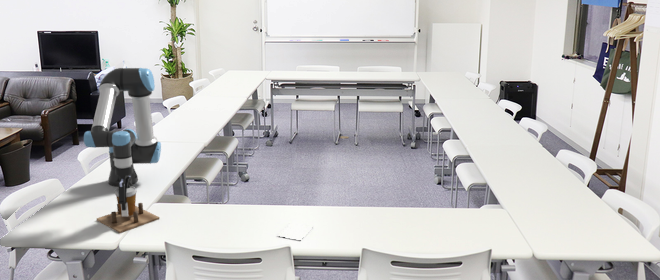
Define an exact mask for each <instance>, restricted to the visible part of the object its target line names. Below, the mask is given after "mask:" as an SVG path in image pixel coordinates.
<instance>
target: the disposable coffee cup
mask: <svg viewBox="0 0 660 280" xmlns="http://www.w3.org/2000/svg"><path fill="white" fill-rule="evenodd" d="M137 192H138V190H137V189H136V187H135V186H133V185H132V186H130V188H127V192H126V198H127V199H126V202H127V205H128V216H131V215H133V212H134V211H135V206H136V198H137ZM114 195H115V196H116V197H115V198H116V201H117V204H118V206H119V210H120V214H121V216H122V213H121V204H119V203H118V202H119V189H118V187H117V188H116V189H115V192H114Z"/></svg>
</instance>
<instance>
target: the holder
mask: <svg viewBox="0 0 660 280" xmlns="http://www.w3.org/2000/svg"><path fill="white" fill-rule="evenodd" d="M137 205H138V206H137ZM137 205H135V211H134V212H133V215H131V216H121V214H120V210H119V206H118V203H116V206H117V207H116V209H117V211H115V210H114V211H111V213H109V214H106V215H103V216H99V217H96V221H97V222H99V223H101V224H103V225H104V226H106V227H108V228H110V229H111V230H113V231H114V232H116V233H119V234H122V233H125V232H128V231H130V230H133V229H136V228H139V227H142V226H145V225H147V224H150V223H153V222H155V221H159V220H160V217H159V216H157V215H156V214H154V213H151V212H149V211H147V210H145V209H144V205H143V202H138V203H137Z"/></svg>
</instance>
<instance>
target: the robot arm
mask: <svg viewBox="0 0 660 280" xmlns="http://www.w3.org/2000/svg"><path fill="white" fill-rule="evenodd" d="M155 86H156V85H155V78H154V74H153V72H152V70H150V68H146V67H145V68H144V67H127V68H126V67H118V68H115V69H112V70H111V71H109V72H108V73H107V74H106V75H105V76H104V77H103V78H102V79H101V81H100V83H99V87H98V91H99V96H98V99H97V105H96V109H95V113H94V117H93V122H92V125H91V130H87V131H85V132H84V134H83V143H84V146H85V147H87V148H94V149H95V148H108V153H109V154H108V155H109V163H110V171H109V175H108V184H109V185H110V186H112V187H113V186H114V187H117V188H118V189H119V202H118V201H117V204H118V203H119V204H121V213H122V216H128V205H127V202H126V199H127V198H126V192H127V188H130V186H132V187H133V185H134V184H136V183H137V182H138V181H139V176H138V173H137V171H136V169H135V167H134V164H135V165H137V164H138V165H140V164H142V165H143V164H144V165H145V164H147V165H148V164H150V165H151V164H157V163H159V161H160V158H161V152H162V143H161V142H160V141H158V139H157V137H156V136H155V135H154V127H153V126H154V125H153V118H152V117H153V116H152V110H151V100H150V99H151V98H150V96H151V95H152V94H153V92H154V91H155ZM120 92H127V94H128V95H127V96H129V97H130V98H131V101H132V108H133V116H134V117H133V118H134V124H135V130H136V131H134V129H131V128H125V129H122V130H110V127H111V122H112V117H113V114H114V109H115V104H116V99H117V97H118V96H119V95H120Z"/></svg>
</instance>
